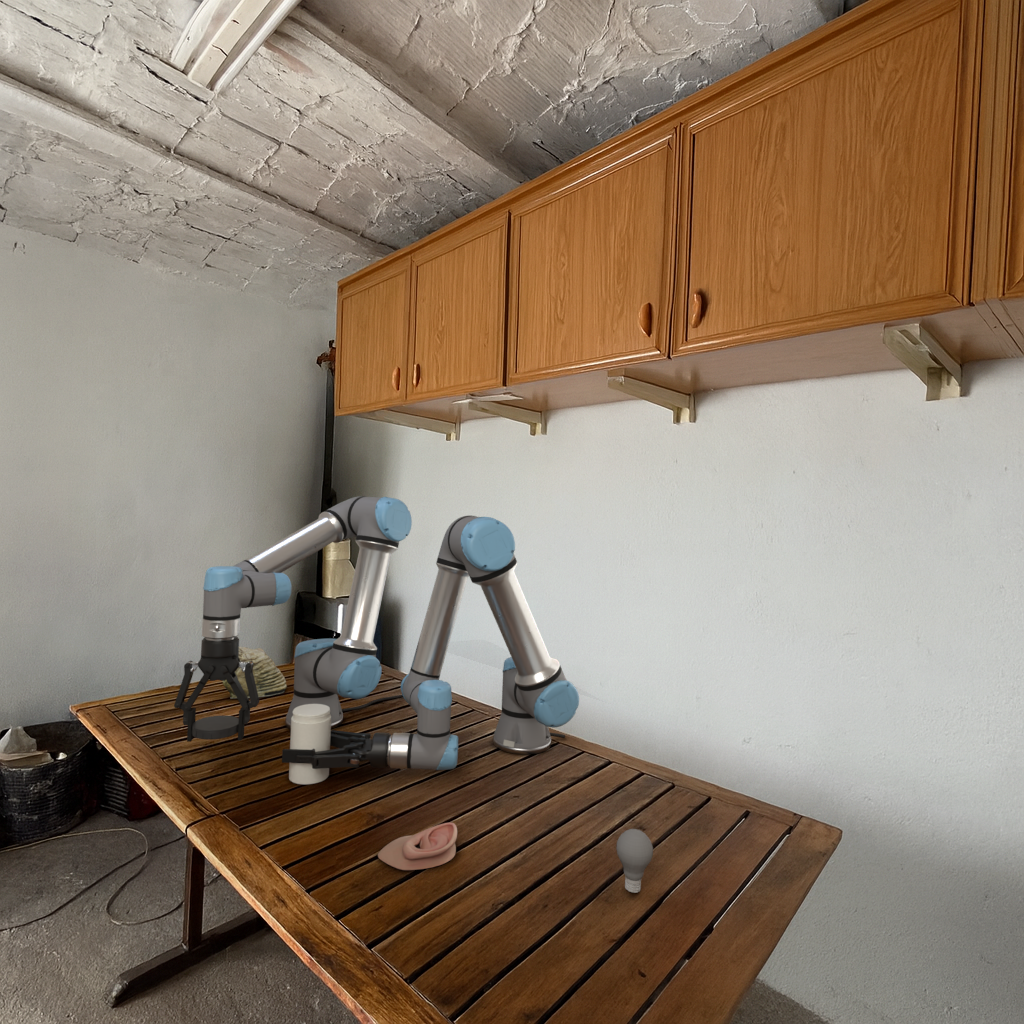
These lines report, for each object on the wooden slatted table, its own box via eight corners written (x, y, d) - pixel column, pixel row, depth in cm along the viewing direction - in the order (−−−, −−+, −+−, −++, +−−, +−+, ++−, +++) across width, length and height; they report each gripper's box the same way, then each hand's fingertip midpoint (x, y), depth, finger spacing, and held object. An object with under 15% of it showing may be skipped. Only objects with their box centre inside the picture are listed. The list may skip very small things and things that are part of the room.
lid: (182, 738, 134) (182, 728, 134) (206, 722, 144) (206, 714, 144) (226, 741, 134) (227, 731, 134) (247, 725, 144) (248, 716, 144)
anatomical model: (371, 842, 110) (396, 811, 121) (370, 865, 110) (395, 831, 121) (444, 854, 107) (463, 821, 118) (443, 877, 107) (462, 842, 118)
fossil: (218, 695, 195) (220, 647, 195) (278, 685, 208) (279, 640, 207) (228, 703, 189) (230, 653, 188) (289, 692, 201) (290, 645, 201)
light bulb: (610, 879, 108) (613, 822, 108) (644, 879, 109) (647, 822, 109) (619, 902, 102) (622, 840, 102) (655, 901, 103) (658, 840, 103)
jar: (280, 780, 141) (283, 712, 140) (305, 765, 149) (308, 701, 149) (312, 787, 138) (315, 718, 138) (336, 772, 146) (339, 706, 146)
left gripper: (159, 640, 133) (154, 746, 133) (271, 641, 137) (266, 744, 138) (171, 633, 140) (166, 733, 141) (276, 634, 145) (272, 731, 145)
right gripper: (381, 788, 133) (272, 785, 132) (396, 748, 155) (303, 745, 154) (382, 752, 133) (273, 749, 132) (397, 717, 154) (304, 714, 154)
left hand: (216, 738), depth 139 cm, fingers closed on lid, 10 cm apart
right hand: (289, 747), depth 143 cm, fingers closed on jar, 9 cm apart
